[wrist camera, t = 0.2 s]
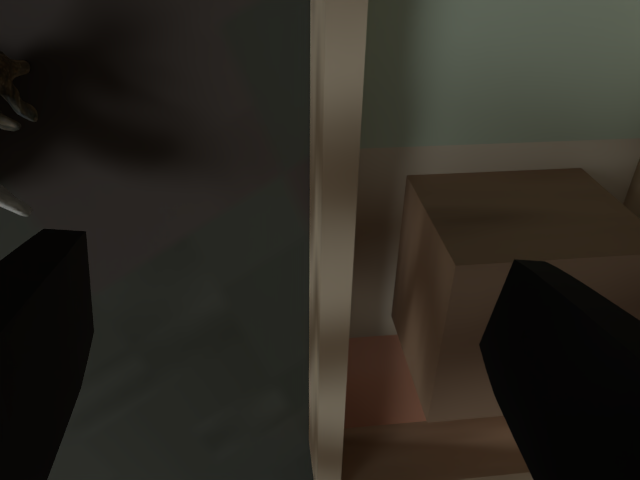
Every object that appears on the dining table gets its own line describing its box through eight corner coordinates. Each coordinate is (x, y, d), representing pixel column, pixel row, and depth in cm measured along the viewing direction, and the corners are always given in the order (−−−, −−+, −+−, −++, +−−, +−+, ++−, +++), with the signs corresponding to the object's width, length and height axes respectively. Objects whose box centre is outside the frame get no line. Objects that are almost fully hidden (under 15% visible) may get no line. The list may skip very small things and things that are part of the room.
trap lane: (542, 418, 29) (576, 480, 26) (308, 439, 27) (317, 507, 24) (923, -659, 11) (1168, -850, 8) (313, -739, 10) (343, -998, 7)
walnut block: (540, 305, 22) (609, 406, 18) (391, 315, 21) (427, 422, 17) (581, 168, 19) (677, 252, 15) (406, 175, 18) (455, 265, 14)
